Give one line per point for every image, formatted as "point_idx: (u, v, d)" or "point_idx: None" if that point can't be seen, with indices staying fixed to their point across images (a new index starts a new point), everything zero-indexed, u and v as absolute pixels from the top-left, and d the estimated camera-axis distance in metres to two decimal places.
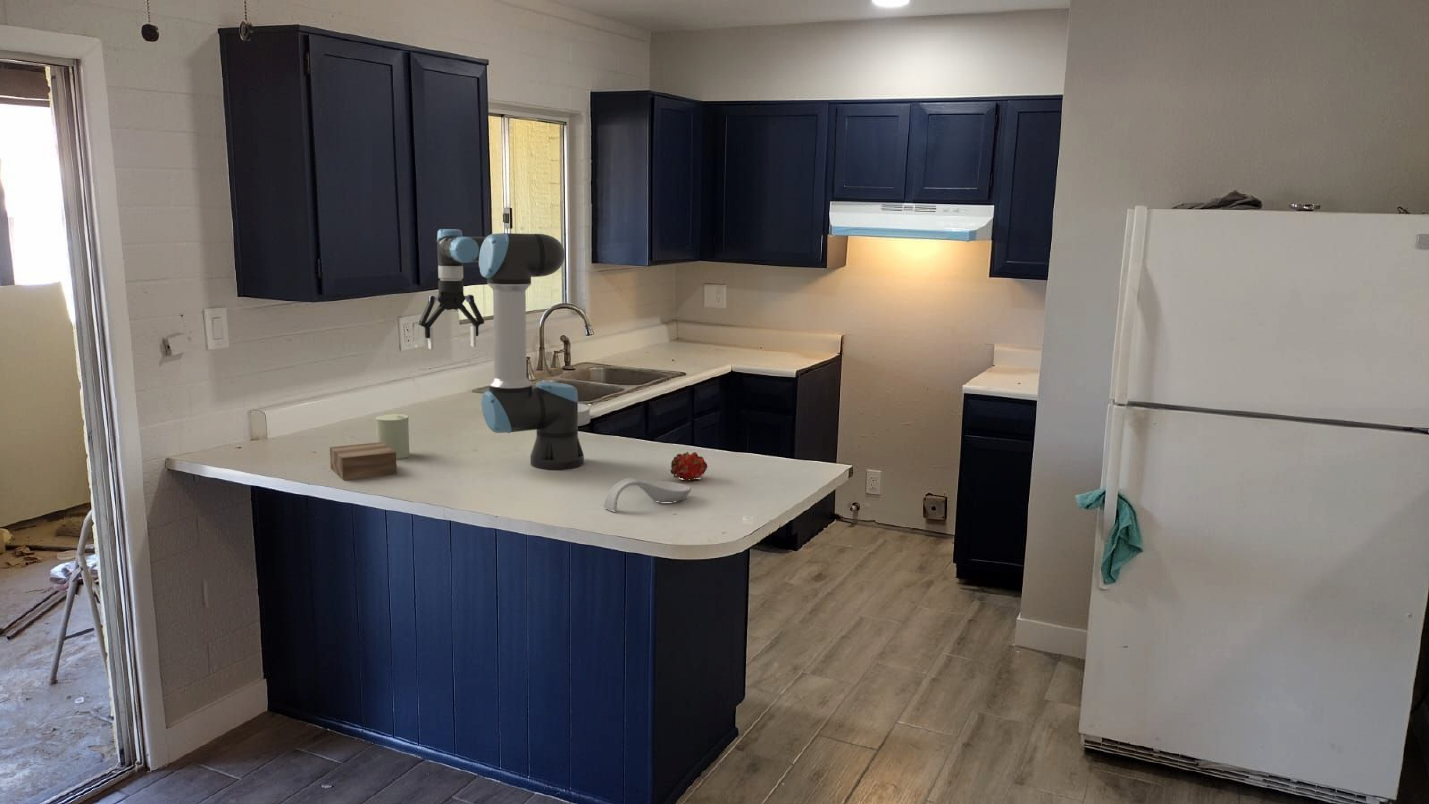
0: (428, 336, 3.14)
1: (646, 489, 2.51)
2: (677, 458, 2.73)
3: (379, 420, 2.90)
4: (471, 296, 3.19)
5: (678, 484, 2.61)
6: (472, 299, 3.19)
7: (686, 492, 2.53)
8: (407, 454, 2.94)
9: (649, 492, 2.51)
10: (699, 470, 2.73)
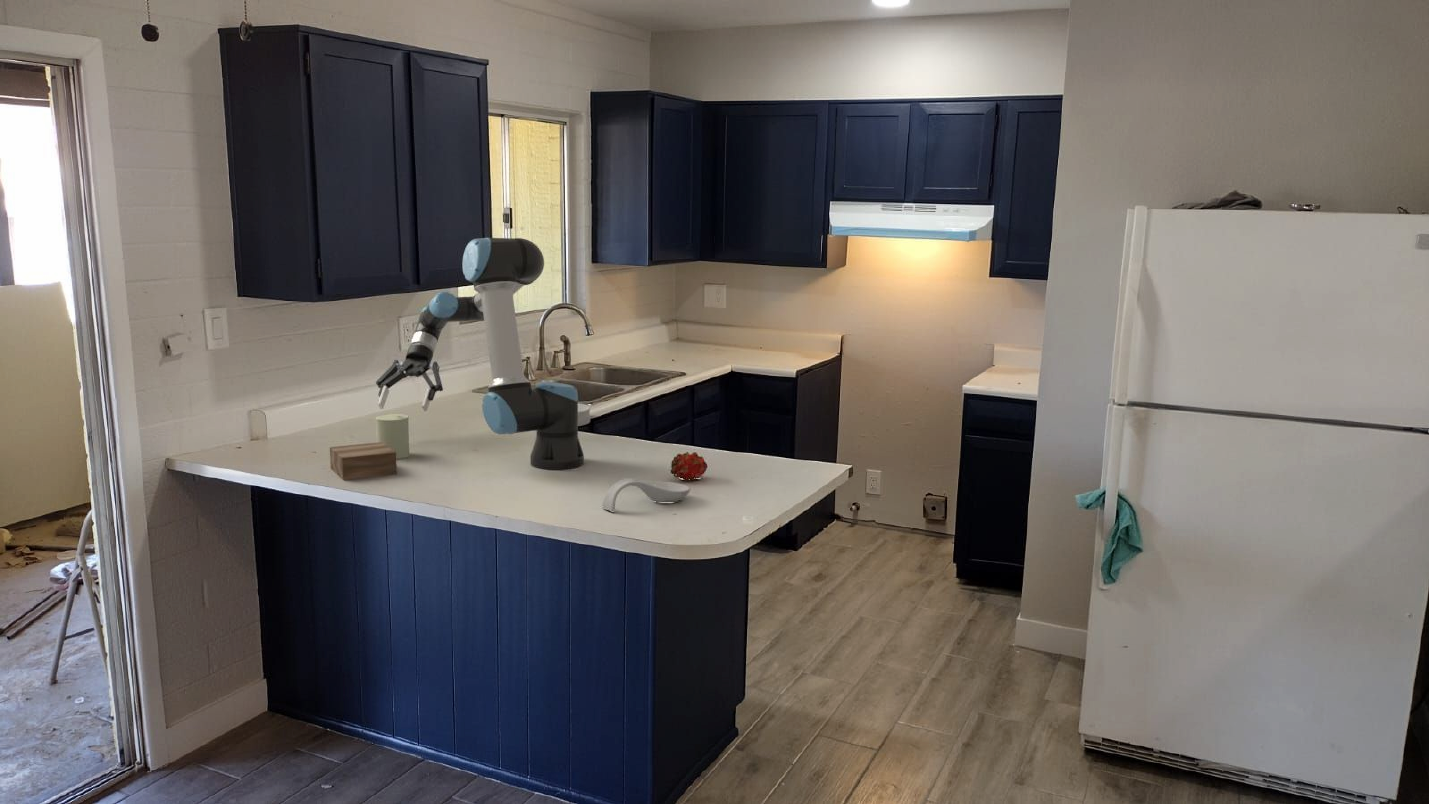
0: (380, 393, 3.04)
1: (644, 490, 2.50)
2: (677, 458, 2.73)
3: (379, 420, 2.90)
4: (434, 362, 3.09)
5: (677, 484, 2.61)
6: (434, 365, 3.08)
7: (685, 492, 2.53)
8: (407, 454, 2.94)
9: (648, 492, 2.51)
10: (699, 470, 2.73)
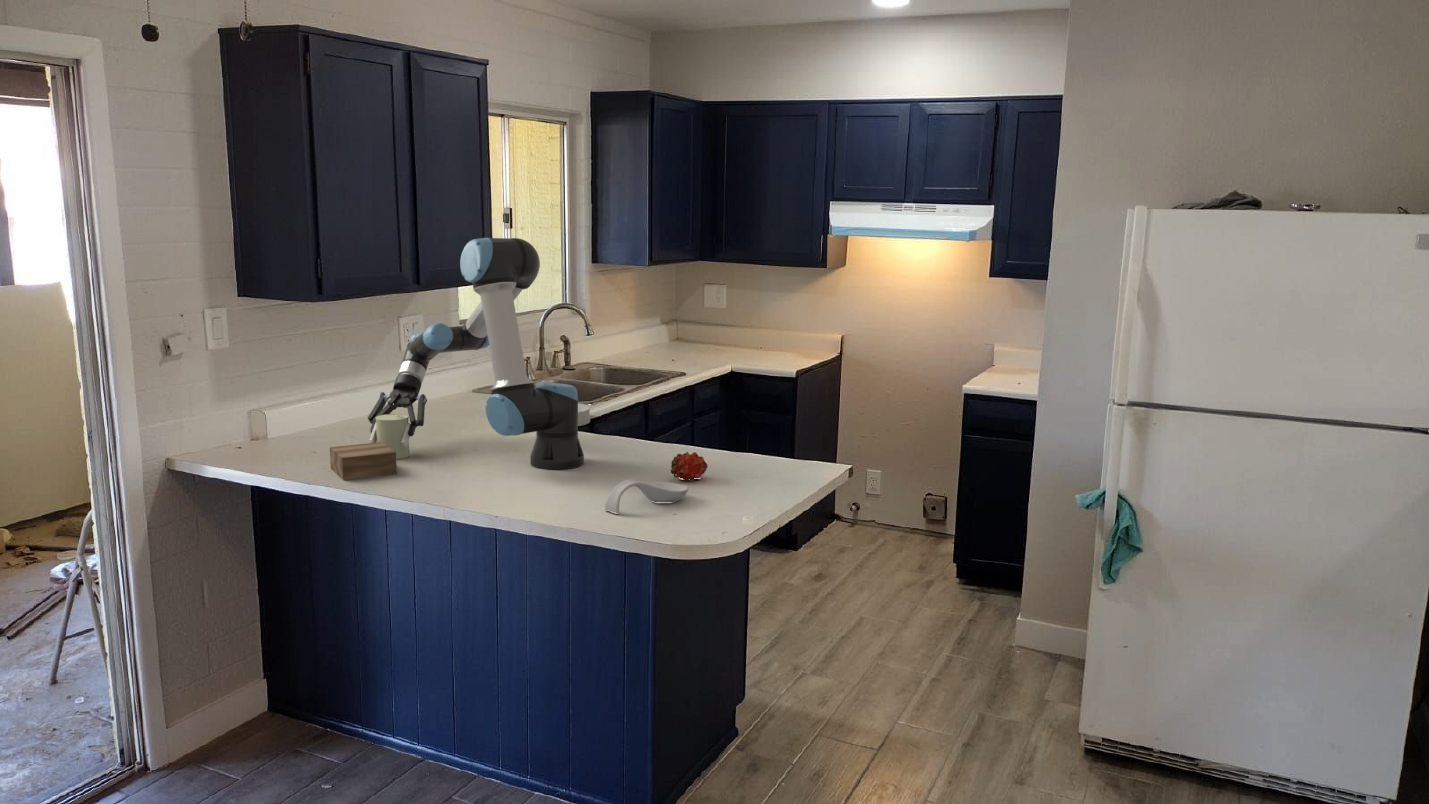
0: (372, 430, 2.94)
1: (645, 490, 2.50)
2: (677, 458, 2.73)
3: (379, 420, 2.90)
4: (422, 395, 2.99)
5: (673, 484, 2.61)
6: (421, 397, 2.99)
7: (684, 492, 2.54)
8: (407, 454, 2.94)
9: (648, 493, 2.50)
10: (699, 470, 2.73)
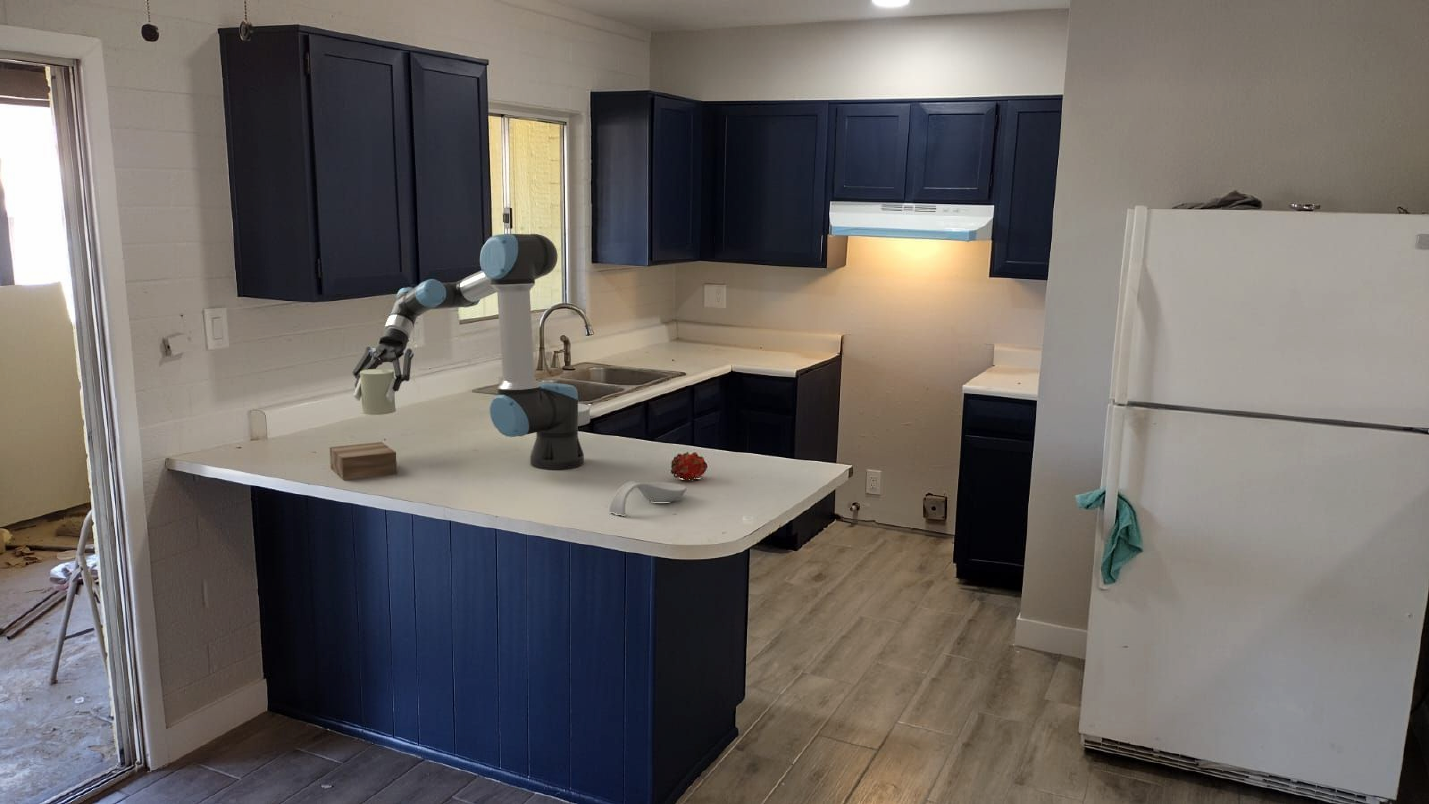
0: (356, 384, 2.86)
1: (647, 491, 2.49)
2: (677, 458, 2.73)
3: (363, 374, 2.82)
4: (408, 349, 2.91)
5: (668, 484, 2.61)
6: (407, 352, 2.90)
7: (684, 491, 2.54)
8: (393, 409, 2.87)
9: (650, 493, 2.50)
10: (699, 470, 2.73)
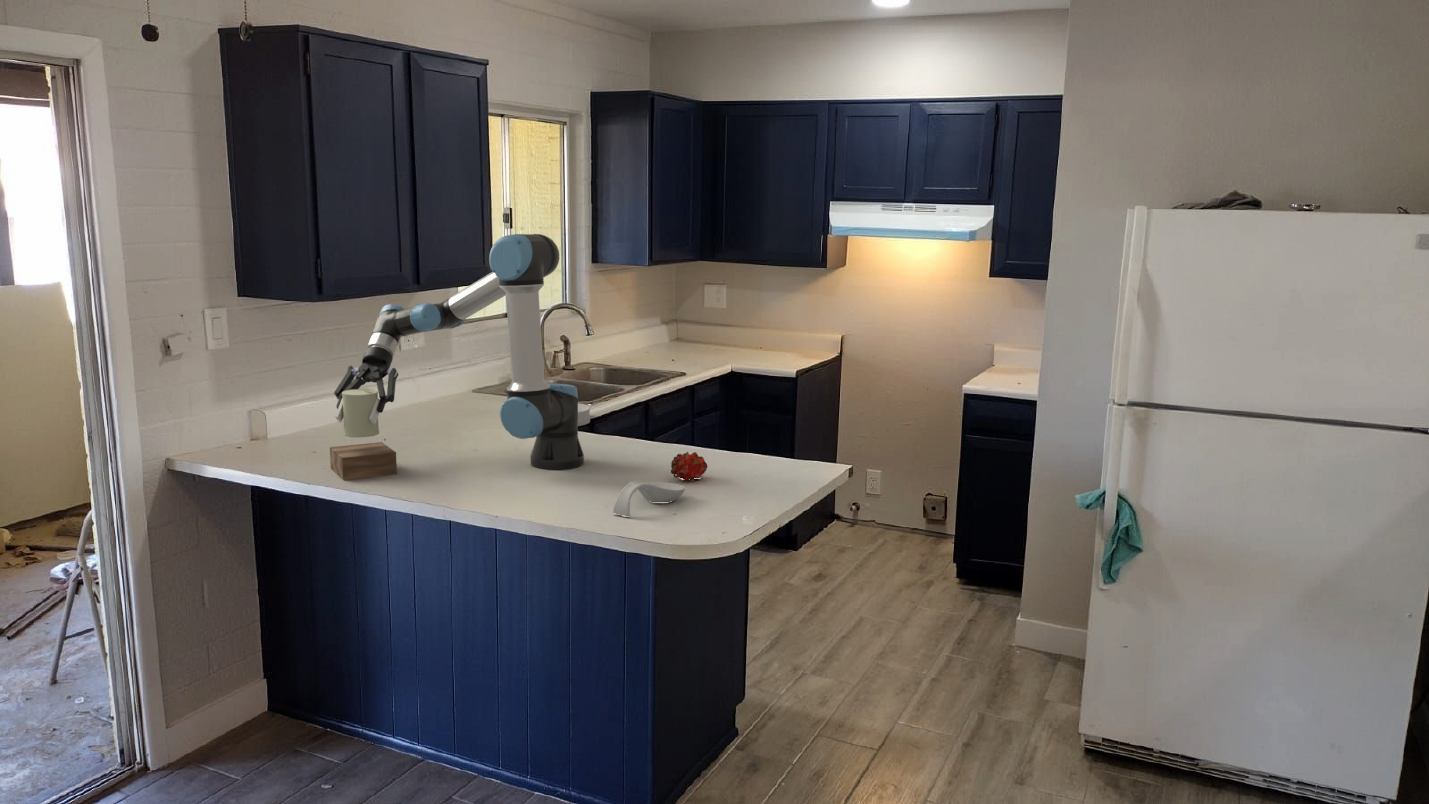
0: (338, 405, 2.74)
1: (648, 491, 2.49)
2: (677, 458, 2.73)
3: (346, 395, 2.70)
4: (393, 368, 2.79)
5: (665, 483, 2.61)
6: (392, 372, 2.79)
7: (683, 490, 2.55)
8: (376, 432, 2.75)
9: (651, 494, 2.50)
10: (699, 470, 2.73)
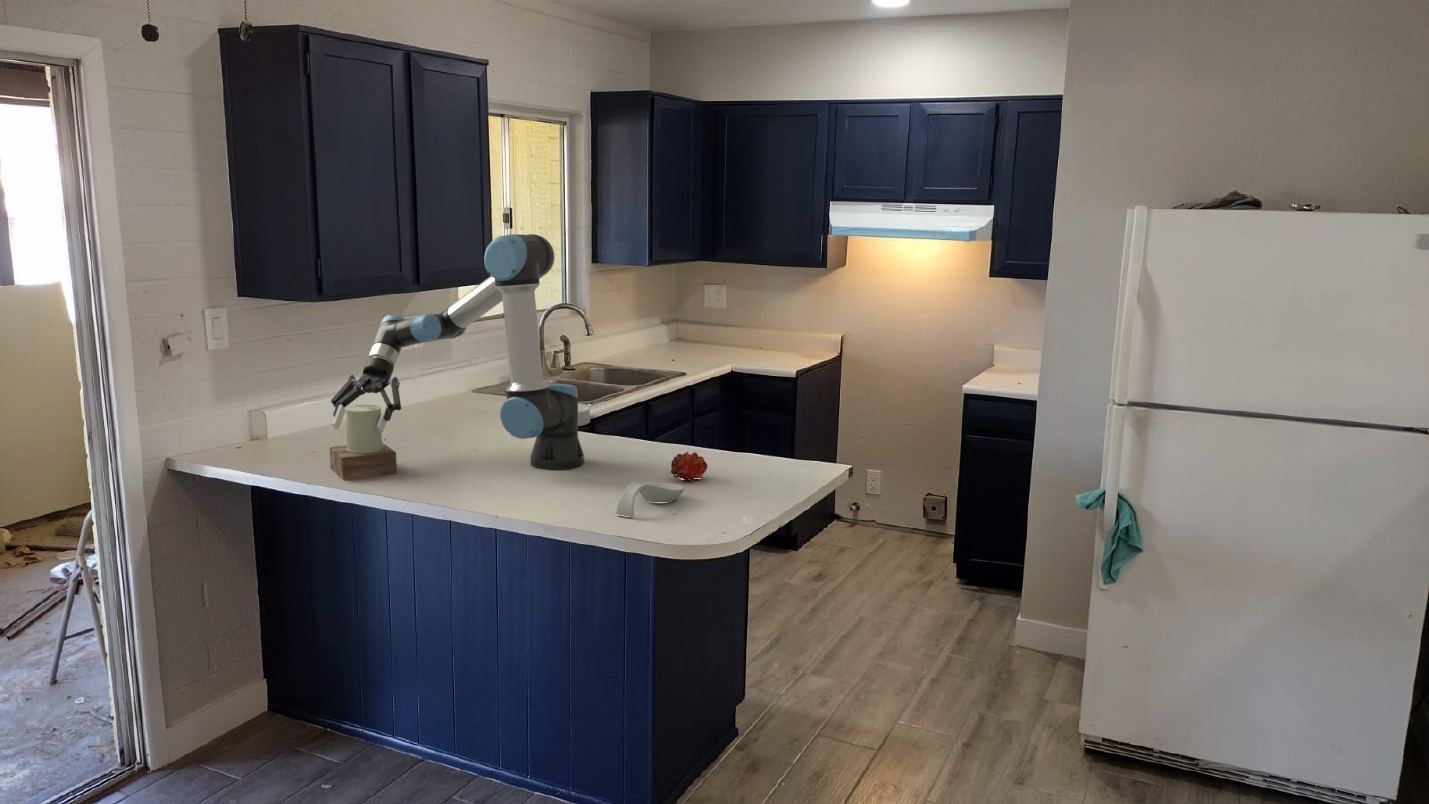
0: (335, 413, 2.75)
1: (650, 492, 2.49)
2: (677, 458, 2.73)
3: (349, 411, 2.71)
4: (394, 378, 2.80)
5: (663, 484, 2.61)
6: (394, 381, 2.80)
7: (683, 490, 2.55)
8: (379, 448, 2.75)
9: (652, 494, 2.50)
10: (699, 470, 2.73)
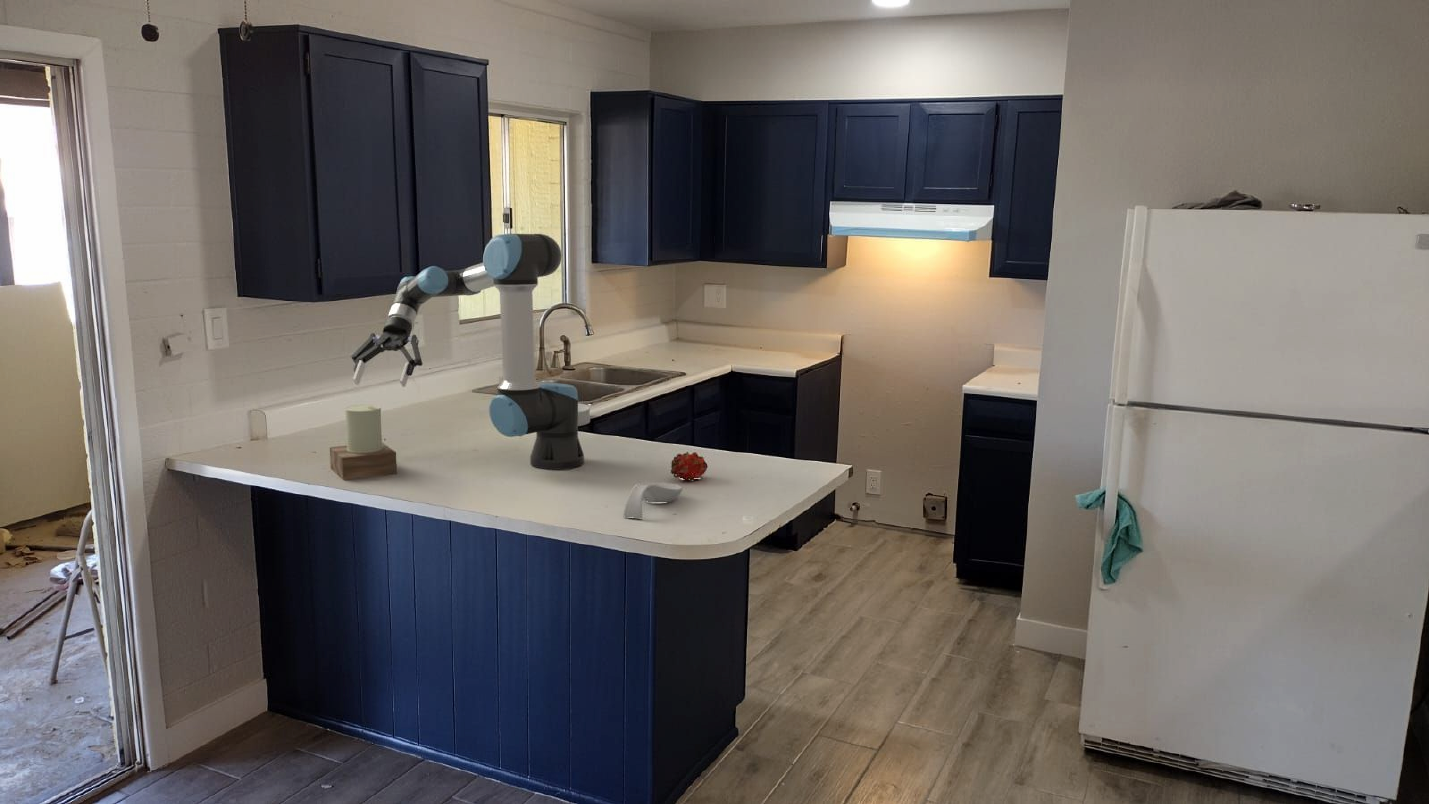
0: (355, 368, 2.87)
1: (652, 492, 2.48)
2: (677, 458, 2.73)
3: (349, 411, 2.71)
4: (413, 335, 2.91)
5: (658, 483, 2.61)
6: (413, 338, 2.91)
7: (681, 489, 2.56)
8: (379, 448, 2.75)
9: (654, 494, 2.49)
10: (699, 470, 2.73)
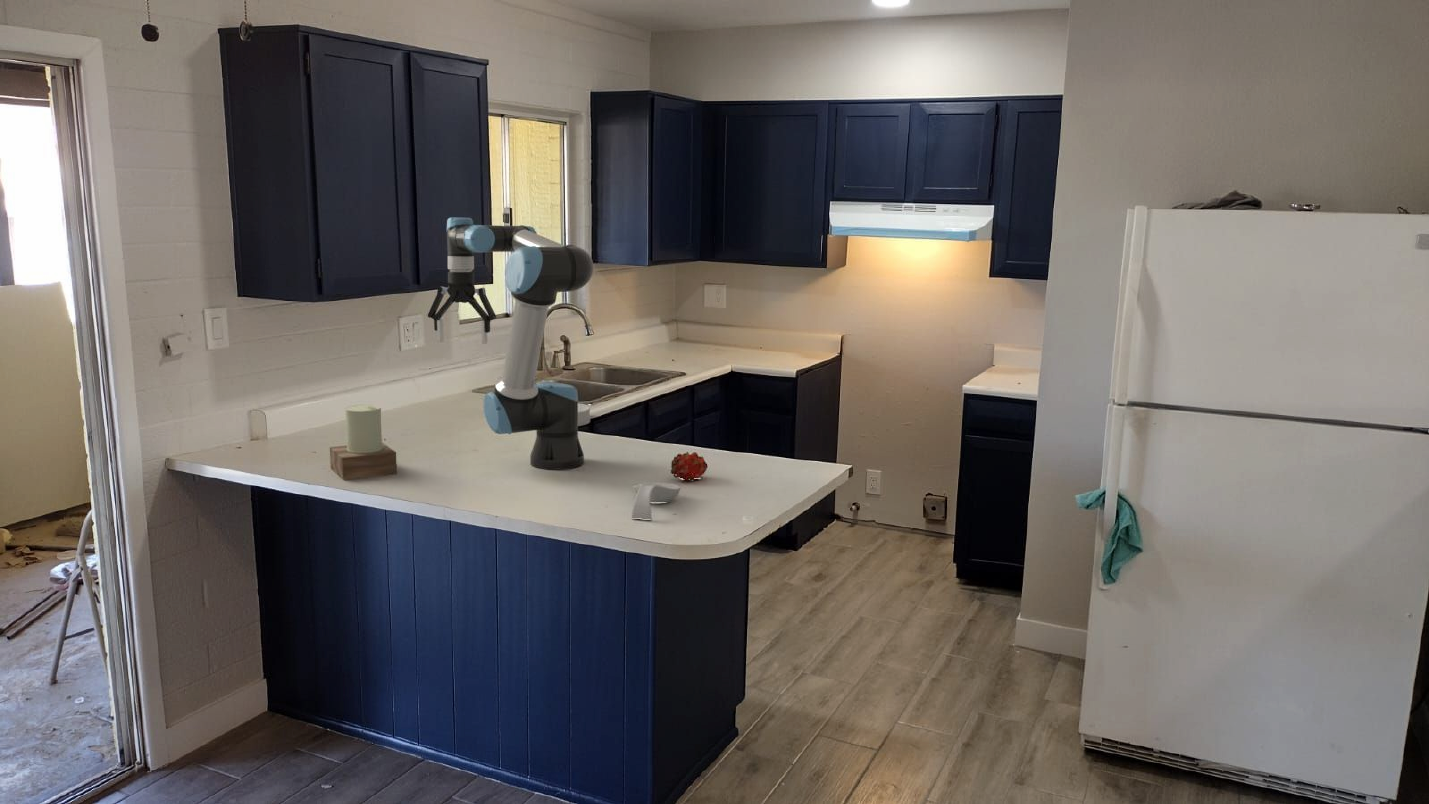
0: (436, 328, 3.03)
1: (655, 493, 2.48)
2: (677, 458, 2.73)
3: (349, 411, 2.71)
4: (479, 289, 2.98)
5: (653, 484, 2.61)
6: (480, 292, 2.99)
7: (679, 488, 2.57)
8: (379, 448, 2.75)
9: (656, 495, 2.49)
10: (699, 470, 2.73)
